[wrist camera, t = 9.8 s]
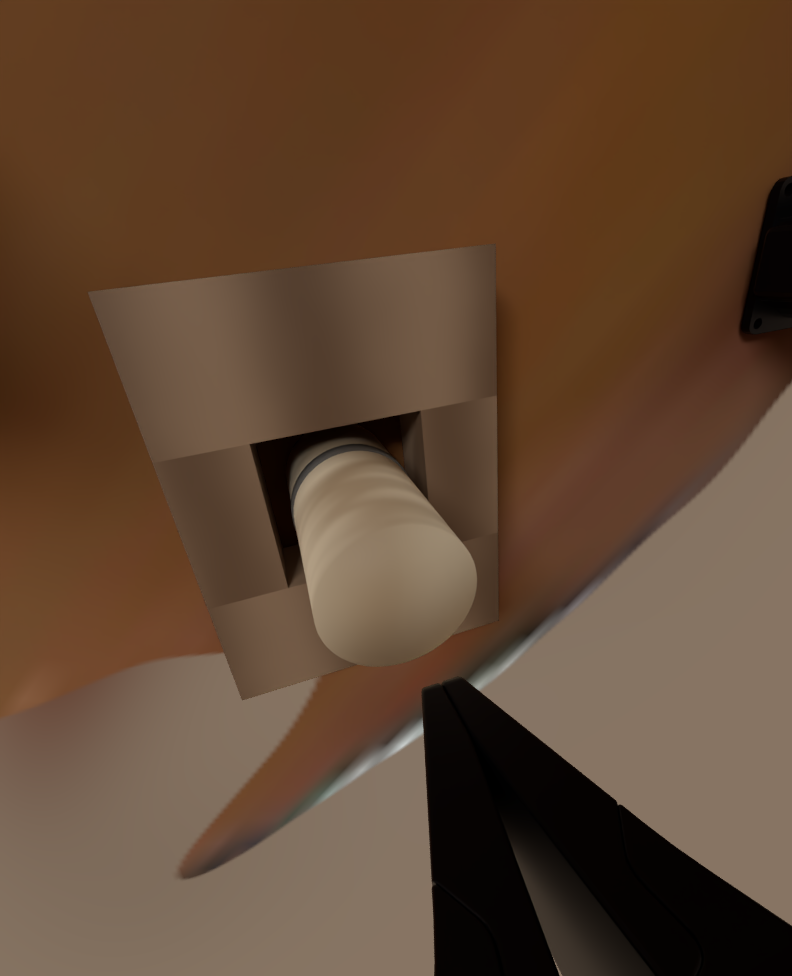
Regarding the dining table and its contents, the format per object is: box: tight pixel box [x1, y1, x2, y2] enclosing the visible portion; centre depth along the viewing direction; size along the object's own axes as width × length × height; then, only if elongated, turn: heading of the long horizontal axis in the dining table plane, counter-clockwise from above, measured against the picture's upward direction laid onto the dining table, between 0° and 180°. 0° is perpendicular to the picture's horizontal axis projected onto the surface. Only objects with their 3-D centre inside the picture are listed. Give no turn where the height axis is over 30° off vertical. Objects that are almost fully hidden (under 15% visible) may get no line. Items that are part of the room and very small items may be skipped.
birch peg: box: [286, 424, 477, 667], centre depth 16 cm, size 4×4×9 cm
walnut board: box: [88, 244, 499, 700], centre depth 18 cm, size 12×16×3 cm
